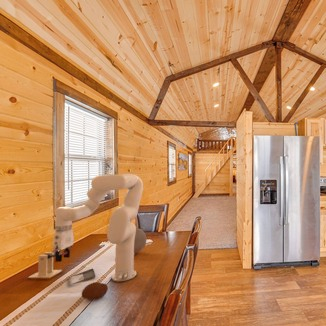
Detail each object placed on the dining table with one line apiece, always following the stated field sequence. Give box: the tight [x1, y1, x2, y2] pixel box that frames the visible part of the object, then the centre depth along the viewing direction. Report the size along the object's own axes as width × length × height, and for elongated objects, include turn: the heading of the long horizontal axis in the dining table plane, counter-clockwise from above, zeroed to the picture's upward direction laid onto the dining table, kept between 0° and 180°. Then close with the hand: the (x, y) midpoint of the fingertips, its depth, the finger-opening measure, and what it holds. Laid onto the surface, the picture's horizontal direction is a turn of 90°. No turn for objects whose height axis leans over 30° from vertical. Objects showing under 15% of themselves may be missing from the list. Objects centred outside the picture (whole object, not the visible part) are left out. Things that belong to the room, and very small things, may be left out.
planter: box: [134, 227, 148, 254], centre depth 169 cm, size 18×7×19 cm, turn 114°
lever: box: [46, 251, 68, 259], centre depth 134 cm, size 12×5×2 cm, turn 91°
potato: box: [81, 281, 109, 301], centre depth 112 cm, size 8×11×8 cm
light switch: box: [70, 268, 96, 285], centre depth 130 cm, size 11×2×12 cm
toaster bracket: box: [27, 251, 63, 279], centre depth 134 cm, size 12×9×13 cm
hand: (62, 259), depth 134 cm, fingers closed on lever, 5 cm apart
